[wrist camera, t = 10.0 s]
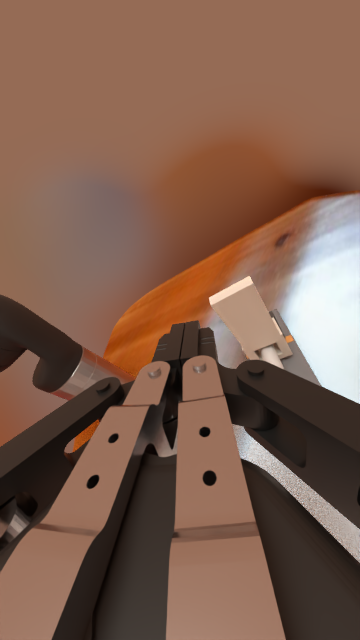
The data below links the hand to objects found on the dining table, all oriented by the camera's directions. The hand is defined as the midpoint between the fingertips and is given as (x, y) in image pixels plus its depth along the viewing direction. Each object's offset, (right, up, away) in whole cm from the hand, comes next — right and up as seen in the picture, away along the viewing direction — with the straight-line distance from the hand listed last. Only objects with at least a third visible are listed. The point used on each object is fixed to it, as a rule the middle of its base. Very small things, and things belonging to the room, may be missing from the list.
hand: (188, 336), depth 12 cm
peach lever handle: (+14, -4, +21) cm, 26 cm away
